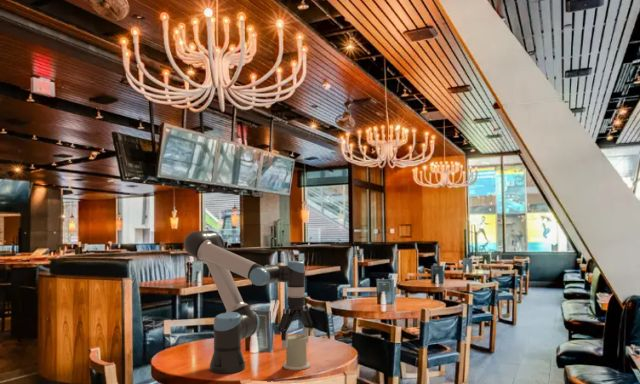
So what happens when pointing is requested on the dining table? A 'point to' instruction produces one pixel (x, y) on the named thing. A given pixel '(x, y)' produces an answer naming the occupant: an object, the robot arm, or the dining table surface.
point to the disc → (296, 367)
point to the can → (296, 351)
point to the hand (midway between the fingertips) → (295, 345)
